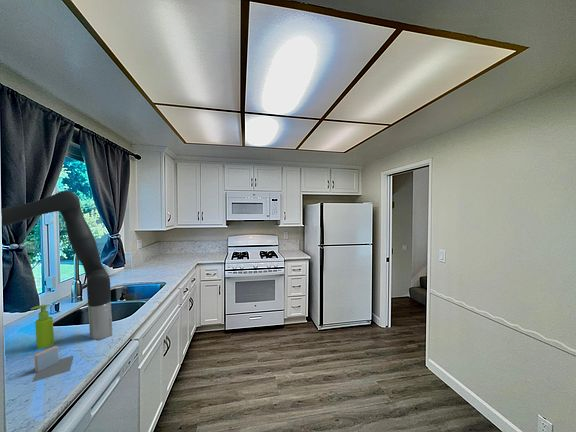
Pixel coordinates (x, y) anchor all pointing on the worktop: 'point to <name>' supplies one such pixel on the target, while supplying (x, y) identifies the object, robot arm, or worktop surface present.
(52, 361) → the tile
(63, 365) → the mat
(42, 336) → the soap dispenser
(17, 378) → the worktop surface
